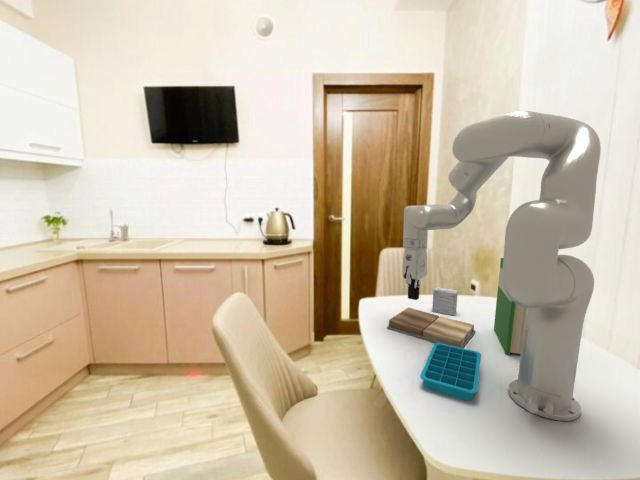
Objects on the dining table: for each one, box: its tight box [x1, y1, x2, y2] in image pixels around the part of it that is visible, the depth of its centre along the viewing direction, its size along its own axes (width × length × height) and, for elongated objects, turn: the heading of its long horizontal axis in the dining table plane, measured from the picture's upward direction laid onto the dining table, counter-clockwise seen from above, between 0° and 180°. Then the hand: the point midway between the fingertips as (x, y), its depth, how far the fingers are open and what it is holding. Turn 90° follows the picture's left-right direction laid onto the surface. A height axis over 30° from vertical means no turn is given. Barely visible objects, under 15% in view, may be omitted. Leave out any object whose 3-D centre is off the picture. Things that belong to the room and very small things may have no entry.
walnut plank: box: [388, 306, 440, 336], centre depth 105 cm, size 15×11×2 cm
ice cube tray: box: [419, 343, 482, 402], centre depth 77 cm, size 12×20×3 cm, turn 151°
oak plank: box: [423, 316, 475, 348], centre depth 98 cm, size 15×11×2 cm
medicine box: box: [431, 287, 459, 316], centre depth 117 cm, size 8×4×9 cm, turn 58°
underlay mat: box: [386, 325, 476, 349], centre depth 101 cm, size 16×23×1 cm
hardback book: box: [493, 257, 527, 357], centre depth 92 cm, size 18×7×24 cm, turn 161°
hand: (413, 298), depth 104 cm, fingers closed
